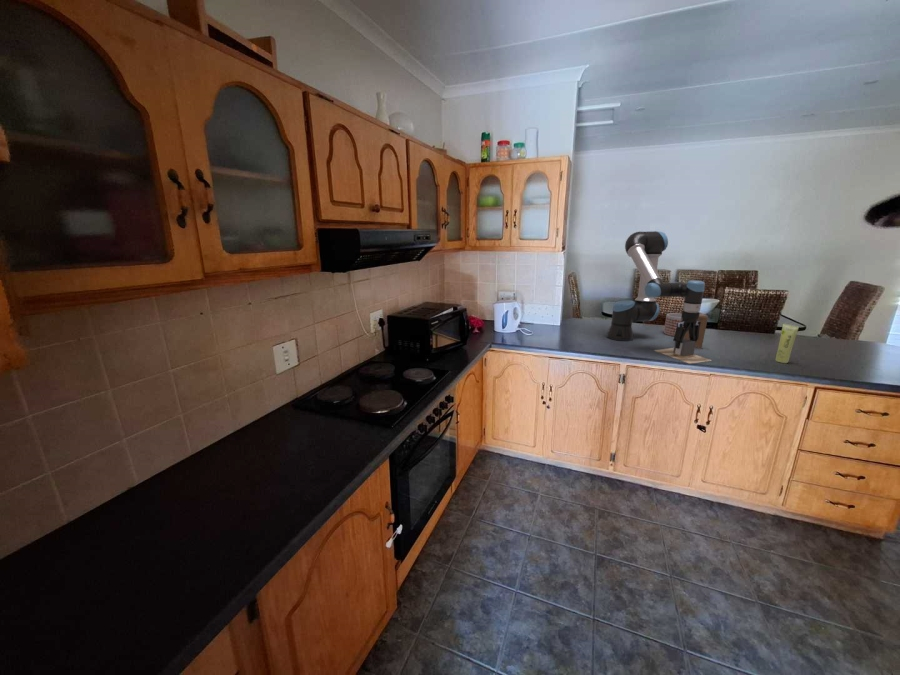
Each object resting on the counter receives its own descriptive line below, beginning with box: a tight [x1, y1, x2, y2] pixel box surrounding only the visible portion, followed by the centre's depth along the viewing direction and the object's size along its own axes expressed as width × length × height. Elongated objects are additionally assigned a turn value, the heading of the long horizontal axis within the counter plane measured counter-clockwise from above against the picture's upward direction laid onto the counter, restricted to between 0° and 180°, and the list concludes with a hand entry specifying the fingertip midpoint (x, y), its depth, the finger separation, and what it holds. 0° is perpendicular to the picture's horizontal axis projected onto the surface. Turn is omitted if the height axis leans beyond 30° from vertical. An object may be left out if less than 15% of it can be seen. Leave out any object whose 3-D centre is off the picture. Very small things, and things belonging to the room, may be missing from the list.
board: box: [653, 347, 712, 365], centre depth 190 cm, size 22×15×1 cm
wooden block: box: [680, 311, 709, 350], centre depth 203 cm, size 10×10×20 cm
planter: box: [663, 312, 682, 337], centre depth 230 cm, size 14×14×13 cm
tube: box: [775, 323, 800, 364], centre depth 179 cm, size 6×5×20 cm
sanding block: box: [673, 339, 696, 358], centre depth 188 cm, size 6×7×8 cm
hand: (683, 353), depth 189 cm, fingers closed on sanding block, 7 cm apart
